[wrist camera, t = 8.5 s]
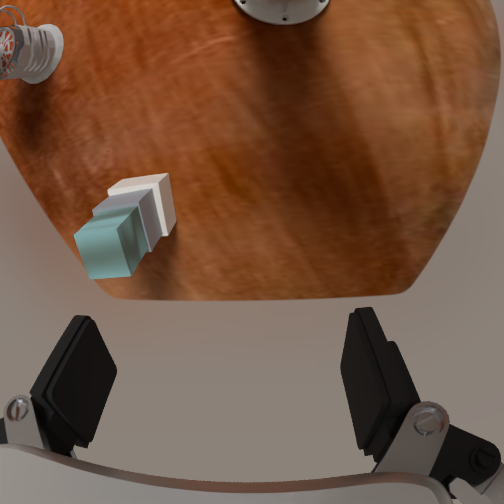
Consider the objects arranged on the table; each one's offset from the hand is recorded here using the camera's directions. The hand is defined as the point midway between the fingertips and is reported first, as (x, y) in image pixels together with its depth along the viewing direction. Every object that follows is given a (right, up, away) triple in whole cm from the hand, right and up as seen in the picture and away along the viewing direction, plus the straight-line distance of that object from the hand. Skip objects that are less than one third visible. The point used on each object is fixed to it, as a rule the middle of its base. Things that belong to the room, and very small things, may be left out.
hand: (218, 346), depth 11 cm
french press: (-30, +33, +19) cm, 49 cm away
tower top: (-13, +8, +27) cm, 31 cm away
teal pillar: (-13, +6, +22) cm, 26 cm away
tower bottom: (-13, +11, +31) cm, 35 cm away
